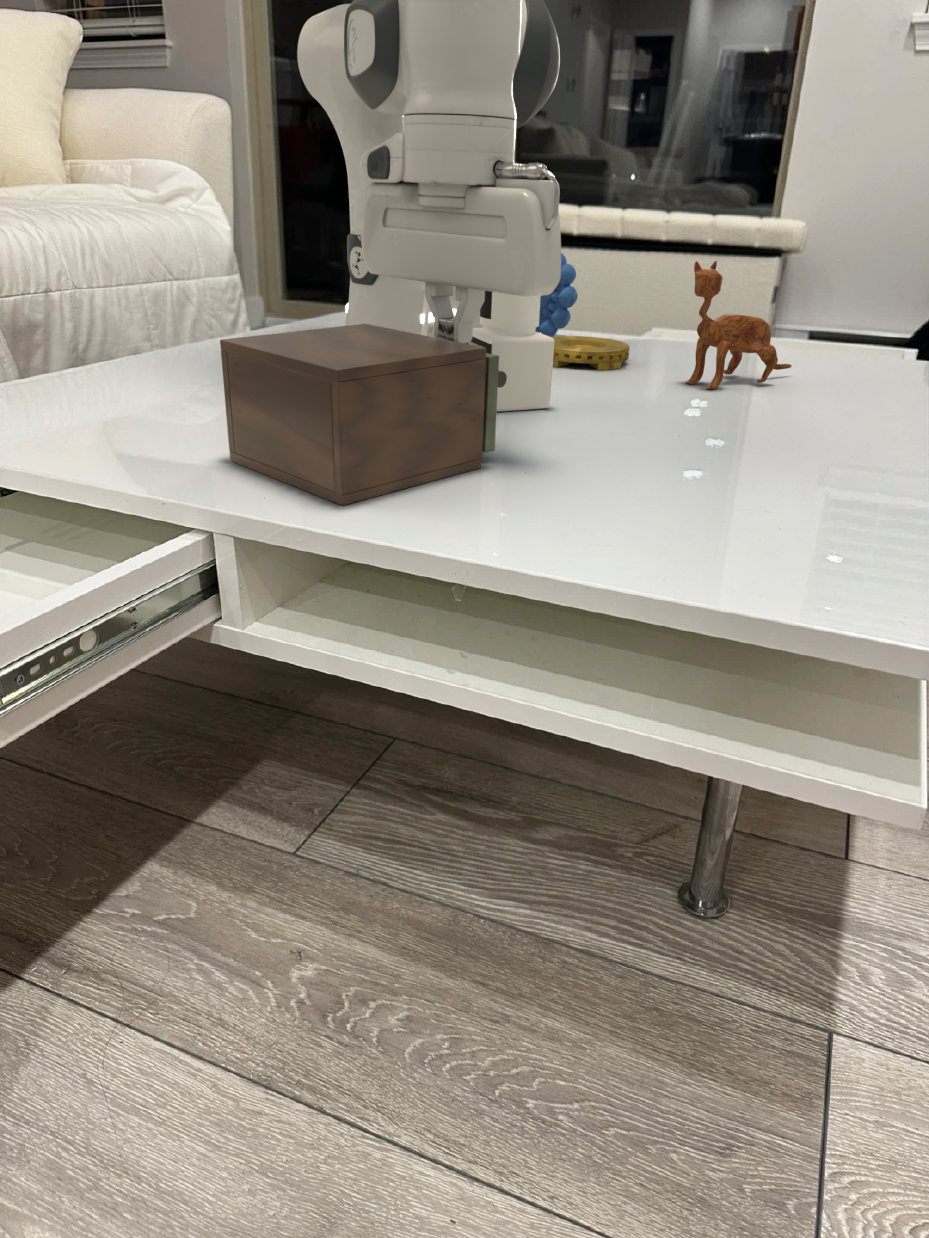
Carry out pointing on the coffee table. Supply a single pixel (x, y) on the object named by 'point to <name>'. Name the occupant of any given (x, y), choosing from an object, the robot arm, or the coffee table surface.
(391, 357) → the cabinet
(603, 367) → the golden round trivet
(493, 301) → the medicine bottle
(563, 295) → the grapes
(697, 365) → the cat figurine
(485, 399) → the drawer
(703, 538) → the coffee table surface
